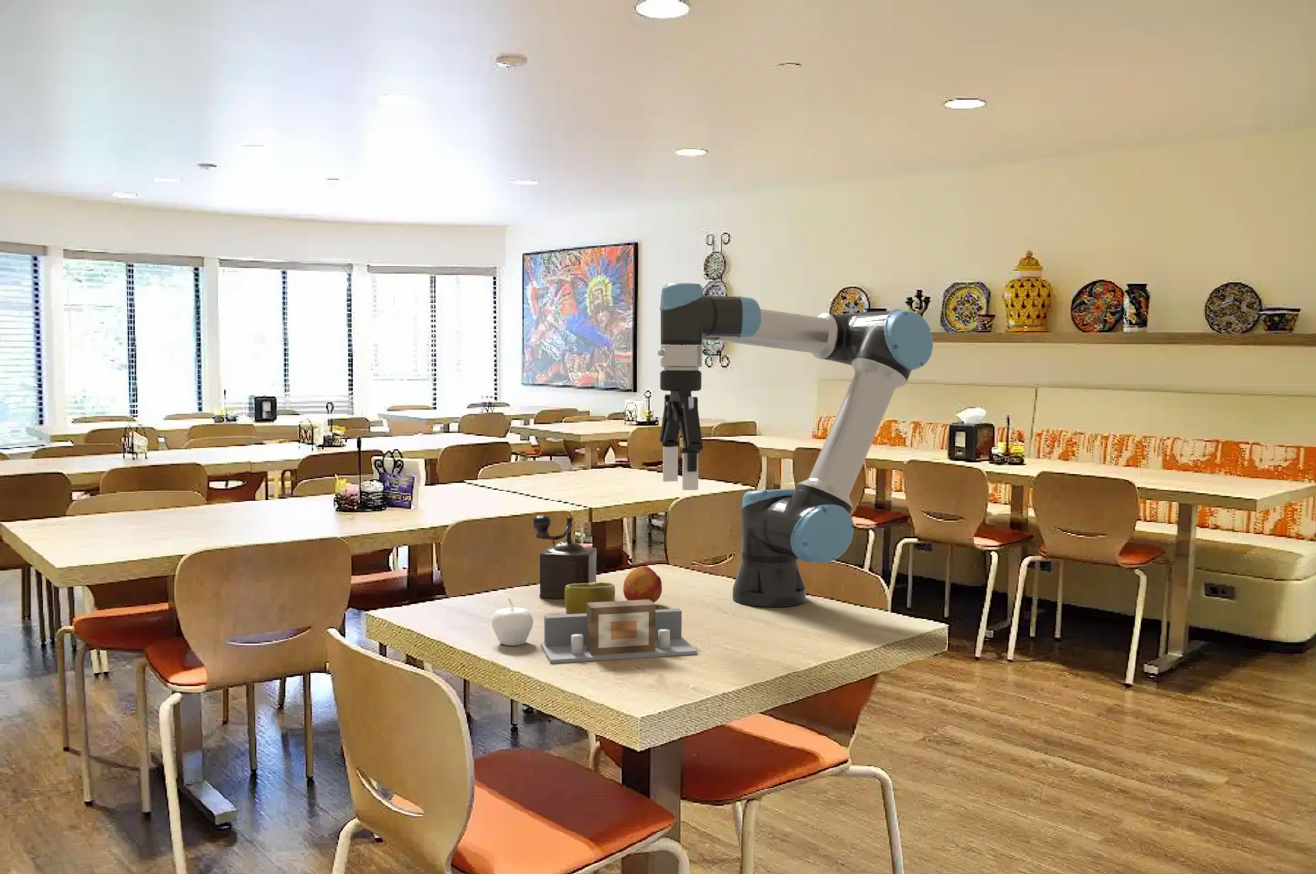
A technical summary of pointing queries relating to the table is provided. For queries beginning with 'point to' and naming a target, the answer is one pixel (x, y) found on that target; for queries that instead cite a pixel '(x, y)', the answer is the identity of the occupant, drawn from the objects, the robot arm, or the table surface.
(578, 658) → the ledge
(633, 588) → the fruit
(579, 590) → the mug
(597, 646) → the picture block
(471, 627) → the table surface
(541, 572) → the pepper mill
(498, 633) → the plain white apple
